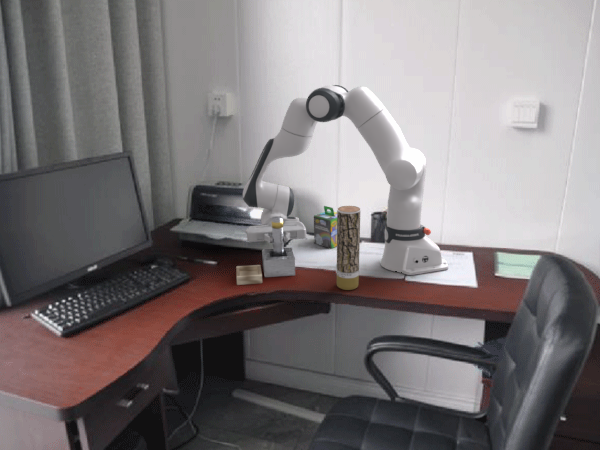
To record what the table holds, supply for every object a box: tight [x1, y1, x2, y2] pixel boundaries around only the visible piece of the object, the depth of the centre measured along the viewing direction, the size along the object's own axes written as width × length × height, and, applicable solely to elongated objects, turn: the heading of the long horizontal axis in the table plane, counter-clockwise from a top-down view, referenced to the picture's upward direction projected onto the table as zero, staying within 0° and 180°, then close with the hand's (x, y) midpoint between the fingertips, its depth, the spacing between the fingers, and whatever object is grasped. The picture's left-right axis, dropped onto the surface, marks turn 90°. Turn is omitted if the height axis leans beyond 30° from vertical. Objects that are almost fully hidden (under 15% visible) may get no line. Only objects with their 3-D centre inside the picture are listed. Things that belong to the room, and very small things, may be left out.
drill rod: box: [272, 216, 285, 257], centre depth 165 cm, size 4×4×18 cm
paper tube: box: [336, 205, 361, 291], centre depth 152 cm, size 7×7×25 cm
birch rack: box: [235, 264, 263, 286], centre depth 162 cm, size 8×9×3 cm
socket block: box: [261, 247, 296, 278], centre depth 167 cm, size 10×10×6 cm
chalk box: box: [313, 205, 337, 249], centre depth 190 cm, size 9×9×15 cm
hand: (278, 240), depth 164 cm, fingers closed on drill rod, 4 cm apart
